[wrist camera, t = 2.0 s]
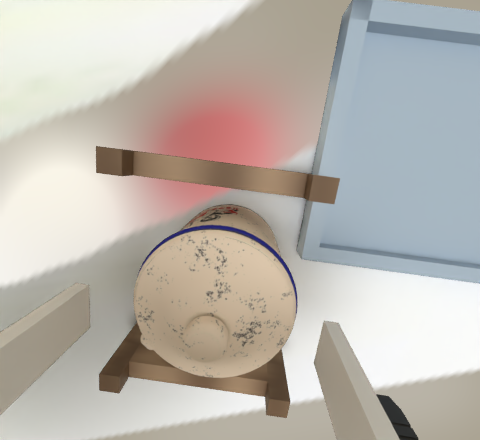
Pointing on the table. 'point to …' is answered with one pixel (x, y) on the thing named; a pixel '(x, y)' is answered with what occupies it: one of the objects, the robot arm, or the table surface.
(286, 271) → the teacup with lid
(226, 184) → the walnut rack
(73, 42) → the table surface
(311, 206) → the tray
